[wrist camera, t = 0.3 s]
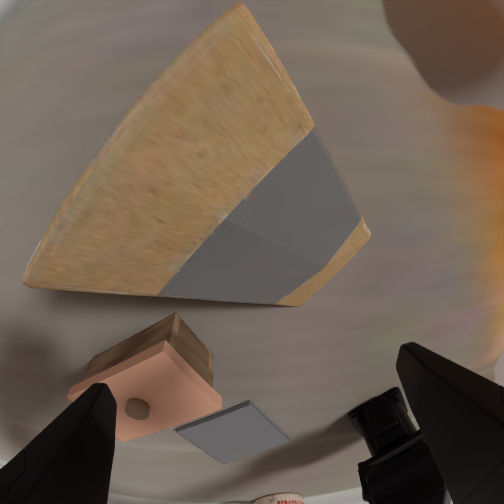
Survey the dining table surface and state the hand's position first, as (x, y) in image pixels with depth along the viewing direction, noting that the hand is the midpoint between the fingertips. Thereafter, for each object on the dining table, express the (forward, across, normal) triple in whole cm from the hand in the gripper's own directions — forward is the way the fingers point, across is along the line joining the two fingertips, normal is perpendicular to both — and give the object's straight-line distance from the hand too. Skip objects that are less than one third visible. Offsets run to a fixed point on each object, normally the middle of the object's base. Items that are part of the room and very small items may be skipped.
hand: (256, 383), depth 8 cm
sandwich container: (+15, -2, -1) cm, 15 cm away
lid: (+10, +9, +11) cm, 17 cm away
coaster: (+14, +3, +23) cm, 28 cm away
